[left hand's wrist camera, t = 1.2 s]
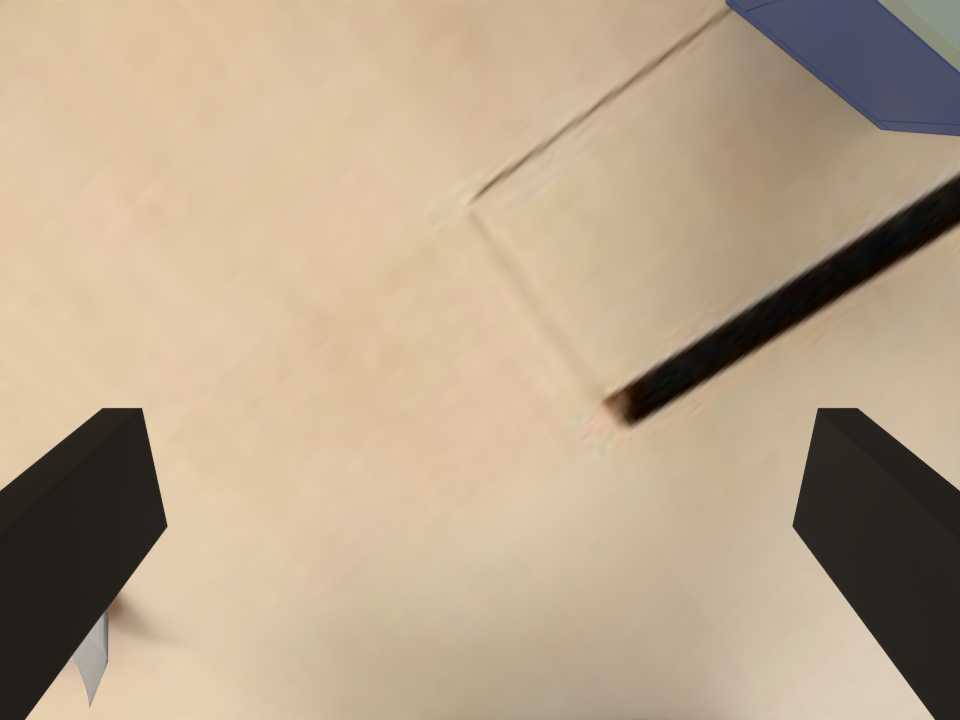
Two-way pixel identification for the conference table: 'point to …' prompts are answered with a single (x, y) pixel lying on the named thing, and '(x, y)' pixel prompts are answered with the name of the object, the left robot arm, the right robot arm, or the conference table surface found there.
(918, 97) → the chest
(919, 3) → the lid
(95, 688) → the fish
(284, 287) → the conference table surface
